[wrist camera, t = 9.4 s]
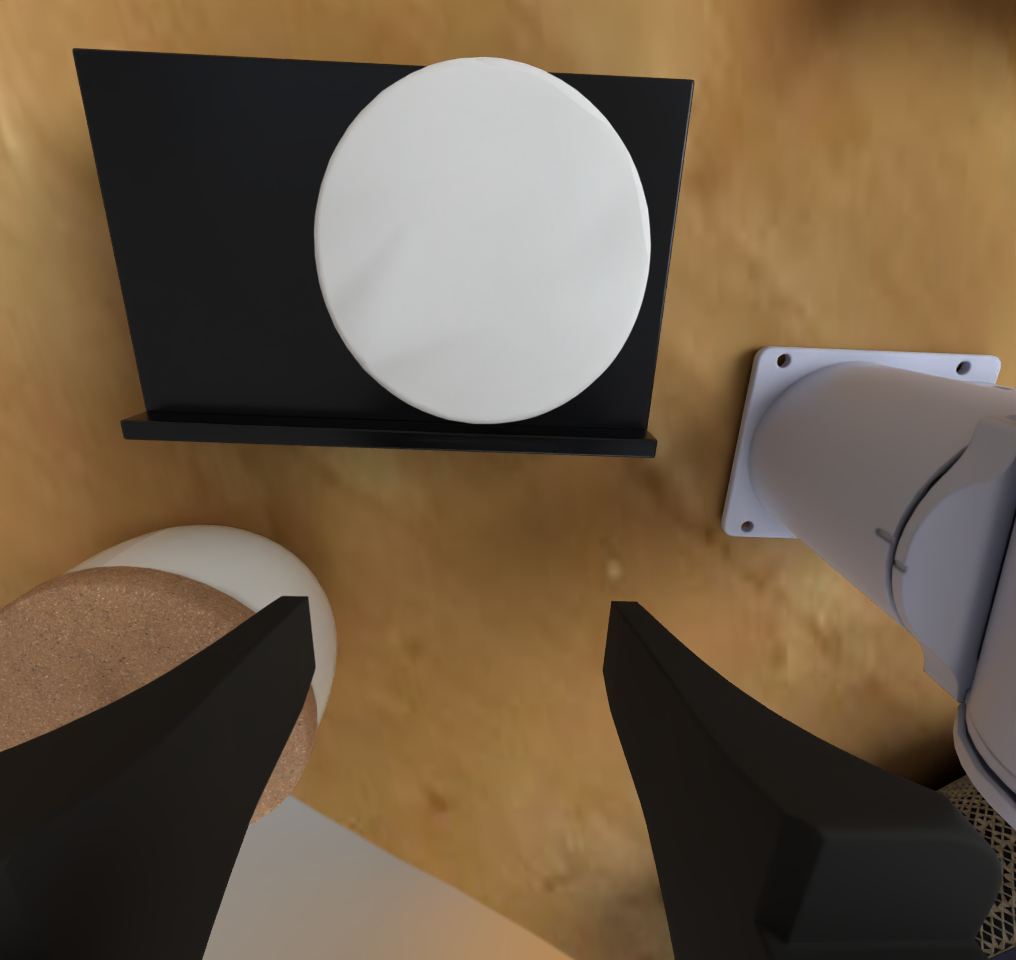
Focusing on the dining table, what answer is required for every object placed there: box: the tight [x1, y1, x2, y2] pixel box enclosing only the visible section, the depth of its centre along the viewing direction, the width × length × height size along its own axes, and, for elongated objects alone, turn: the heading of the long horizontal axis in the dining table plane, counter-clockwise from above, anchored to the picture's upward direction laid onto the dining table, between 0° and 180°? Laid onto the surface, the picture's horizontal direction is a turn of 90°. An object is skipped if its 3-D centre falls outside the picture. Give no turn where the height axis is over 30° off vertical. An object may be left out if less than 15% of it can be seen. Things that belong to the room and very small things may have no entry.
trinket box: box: [0, 524, 337, 824], centre depth 20 cm, size 11×11×9 cm
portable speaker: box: [936, 775, 1016, 960], centre depth 25 cm, size 25×10×10 cm, turn 132°
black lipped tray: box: [73, 48, 694, 458], centre depth 17 cm, size 16×10×6 cm, turn 88°
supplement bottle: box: [314, 57, 651, 424], centre depth 11 cm, size 5×5×10 cm
